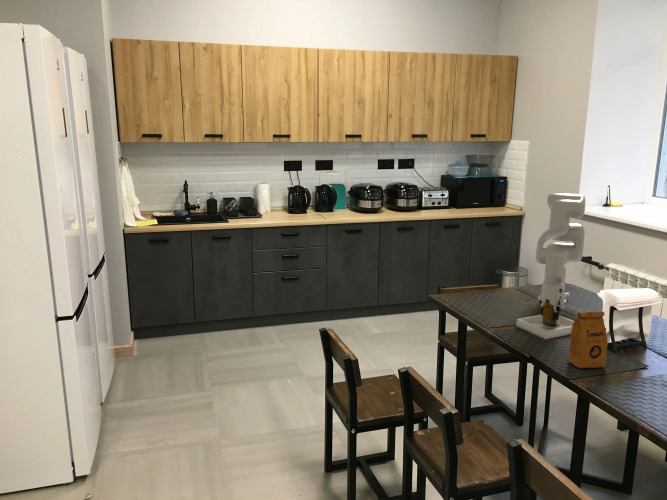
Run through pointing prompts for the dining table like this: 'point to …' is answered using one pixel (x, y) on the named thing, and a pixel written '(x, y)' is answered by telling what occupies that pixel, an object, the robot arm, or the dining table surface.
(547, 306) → the condiment
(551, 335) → the tray
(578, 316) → the coffee package
